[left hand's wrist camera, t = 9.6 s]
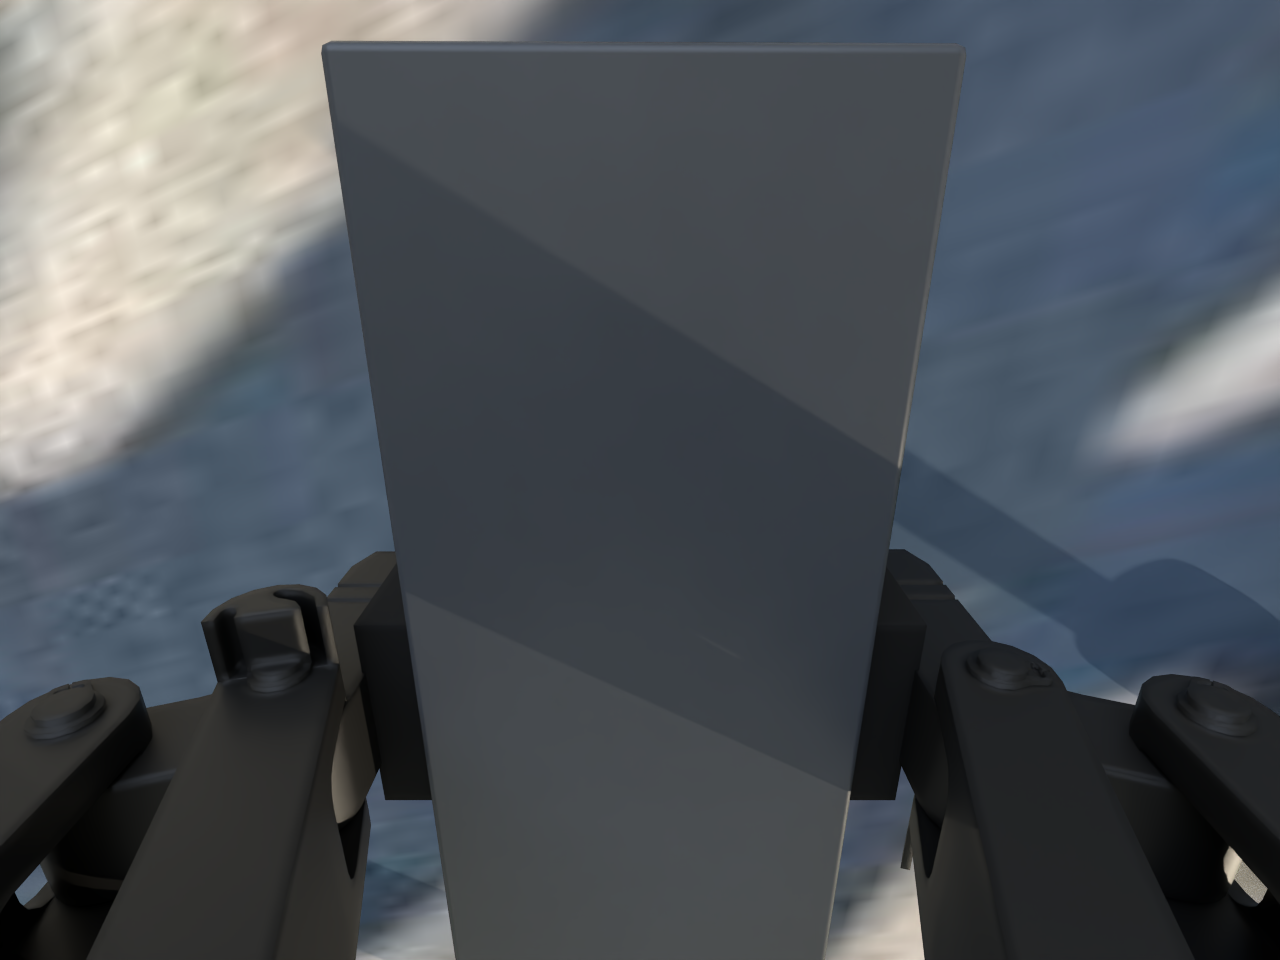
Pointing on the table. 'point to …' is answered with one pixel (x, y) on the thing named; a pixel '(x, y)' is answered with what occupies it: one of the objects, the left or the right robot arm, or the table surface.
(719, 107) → the bar
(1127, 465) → the table surface
